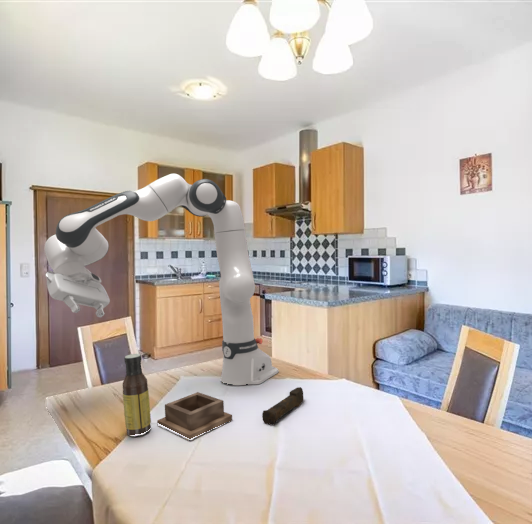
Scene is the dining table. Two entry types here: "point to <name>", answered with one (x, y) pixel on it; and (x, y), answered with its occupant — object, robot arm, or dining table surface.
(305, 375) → the dining table surface
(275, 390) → the dining table surface
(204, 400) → the socket holder
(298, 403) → the hand tool
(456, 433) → the dining table surface
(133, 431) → the sauce bottle
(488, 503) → the dining table surface
